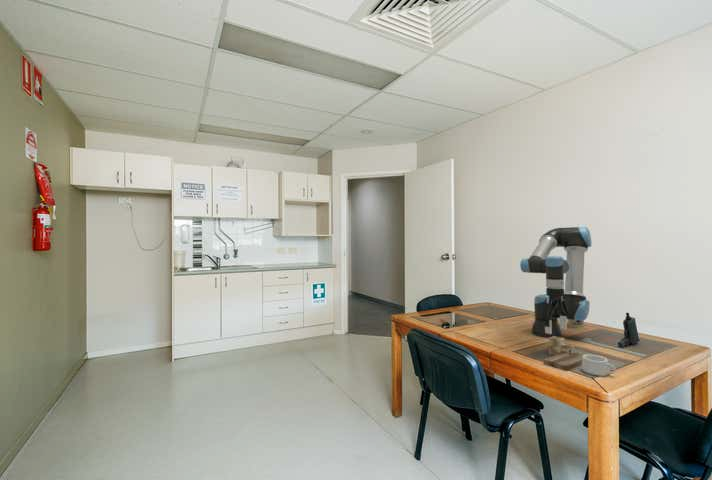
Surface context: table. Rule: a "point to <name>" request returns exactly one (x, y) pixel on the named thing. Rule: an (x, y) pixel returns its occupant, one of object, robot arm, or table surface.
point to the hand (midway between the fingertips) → (556, 331)
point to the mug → (596, 365)
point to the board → (564, 360)
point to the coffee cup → (575, 323)
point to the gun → (629, 332)
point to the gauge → (558, 345)
